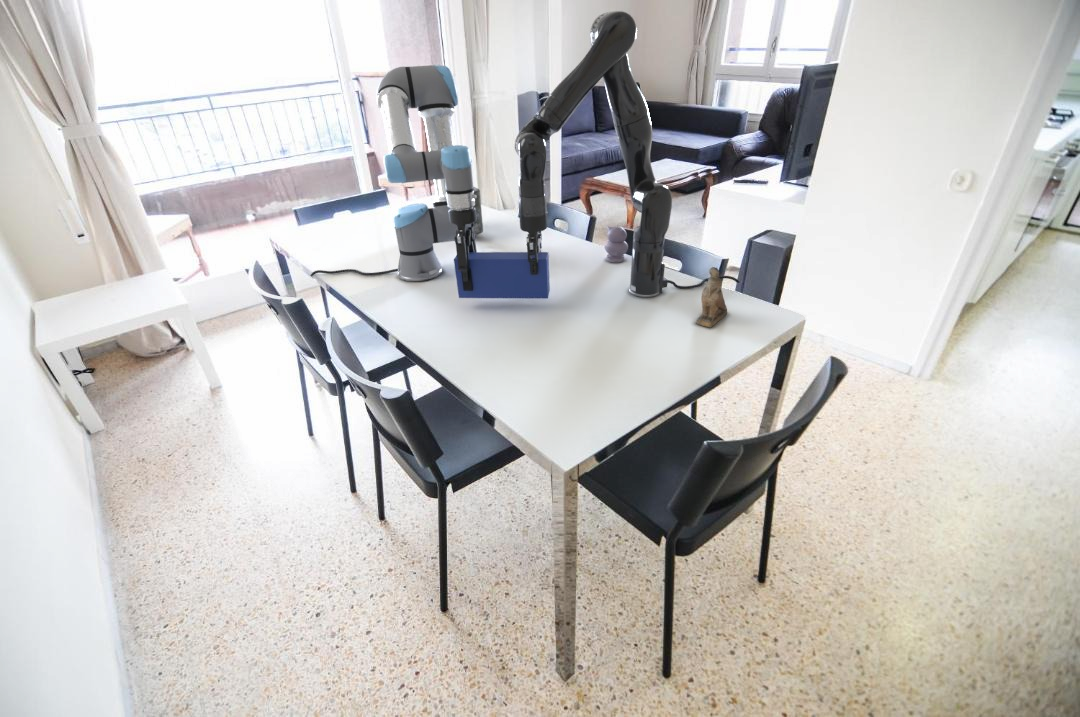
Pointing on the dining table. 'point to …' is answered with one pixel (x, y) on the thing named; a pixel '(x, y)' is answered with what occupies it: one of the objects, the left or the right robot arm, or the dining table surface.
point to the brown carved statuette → (712, 301)
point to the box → (505, 276)
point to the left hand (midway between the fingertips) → (470, 285)
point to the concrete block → (478, 213)
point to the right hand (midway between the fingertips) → (535, 269)
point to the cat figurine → (616, 244)
